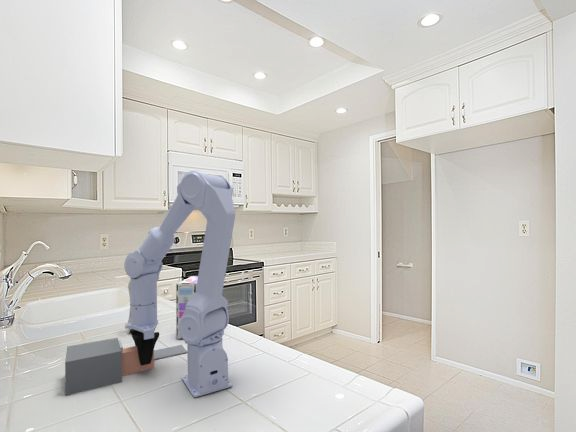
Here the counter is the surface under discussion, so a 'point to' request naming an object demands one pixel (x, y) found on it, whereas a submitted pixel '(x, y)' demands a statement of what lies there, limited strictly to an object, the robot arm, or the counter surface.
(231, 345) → the counter surface
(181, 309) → the candy box
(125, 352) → the tall peach block
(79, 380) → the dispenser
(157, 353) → the pad
